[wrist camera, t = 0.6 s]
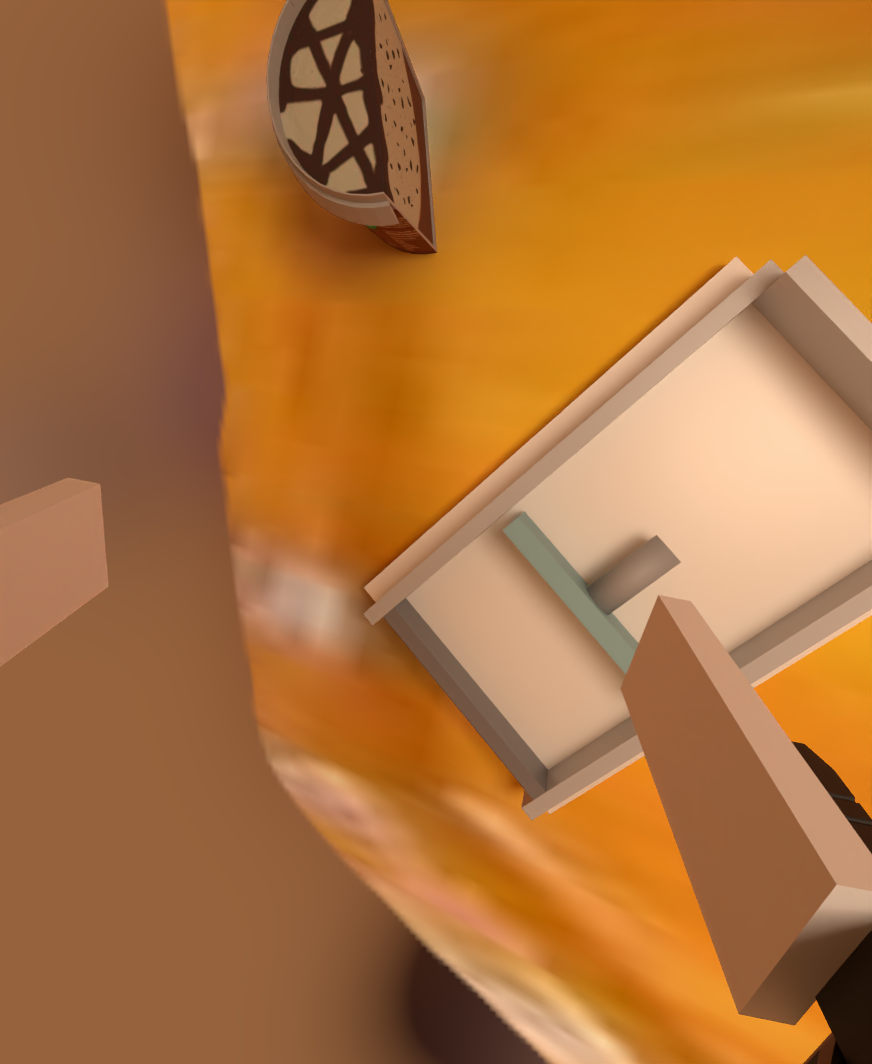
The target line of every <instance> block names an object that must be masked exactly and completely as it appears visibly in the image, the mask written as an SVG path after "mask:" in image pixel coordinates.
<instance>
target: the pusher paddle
mask: <svg viewBox="0 0 872 1064" xmlns="http://www.w3.org/2000/svg"><path fill="white" fill-rule="evenodd" d="M502 531H503V532H504V533H505V534H506V535H507V536H508V538H509V539H510V540H511V541H512V542H513V543H514V545H515V546H516V547H517V548H518V549H519V550H520V552H521V553H522V554H523V555H524V556H525V557H526V559H527V560H528V561H529V562H530V563H531V564H532V566H533V567H534V568H535V569H536V570H537V571H538V573H539V574H540V575H541V576H542V577H543V578H544V580H545V581H546V582H547V583H548V584H549V585H550V587H551V588H552V589H553V590H554V591H555V592H556V594H557V595H558V596H559V597H560V598H561V599H562V601H563V602H564V603H565V604H566V605H567V606H568V608H569V609H570V610H571V611H572V612H573V613H574V615H575V616H576V617H577V618H578V619H579V621H580V622H581V623H582V624H583V625H584V626H585V628H586V629H587V630H588V631H589V632H590V633H591V635H592V636H593V637H594V638H595V639H596V640H597V642H598V643H599V644H600V645H601V646H602V647H603V649H604V650H605V651H606V652H607V653H608V654H609V656H610V657H611V658H612V659H613V660H614V661H615V663H616V664H617V665H618V666H619V667H620V668H621V670H622V671H623V672H624V673H625V674H627V671H628V669H629V666H630V664H631V661H632V659H633V656H634V654H635V651H636V649H637V646H638V644H639V643H638V642H637V641H636V640H635V639H634V637H633V636H632V635H631V634H630V633H629V632H628V631H627V629H626V628H625V627H624V626H623V625H622V624H621V622H620V621H619V620H618V619H617V618H616V617H615V615H614V614H613V613H612V612H613V611H615V610H616V609H618V608H619V607H620V606H622V605H623V604H624V603H626V602H627V601H629V600H630V599H631V598H633V597H634V596H635V595H637V594H638V593H640V592H641V591H642V590H644V589H645V588H647V587H648V586H649V585H651V584H652V583H653V582H655V581H656V580H658V579H659V578H660V577H662V576H663V575H664V574H666V573H667V572H669V571H670V570H671V569H673V568H674V567H675V566H677V565H678V564H680V563H681V562H680V560H679V559H678V558H677V557H676V556H675V555H674V553H673V552H672V551H671V550H670V549H669V548H668V547H667V546H666V544H665V543H664V542H663V541H662V540H661V539H660V538H659V537H658V536H657V535H655V536H654V537H653V538H651V539H650V540H649V541H647V542H646V543H645V544H643V545H642V546H641V547H639V548H638V549H637V550H636V551H634V552H633V553H632V554H630V555H629V556H628V557H626V558H625V559H624V560H622V561H621V562H620V563H618V564H617V565H616V566H614V567H613V568H612V569H610V570H609V571H608V572H606V573H605V574H604V575H602V576H601V577H600V578H598V579H597V580H596V581H594V582H593V583H592V584H591V585H588V584H587V583H586V582H585V581H584V580H583V578H582V577H581V576H580V575H579V574H578V573H577V571H576V570H575V569H574V568H573V567H572V566H571V565H570V563H569V562H568V561H567V560H566V559H565V558H564V556H563V555H562V554H561V553H560V552H559V551H558V549H557V548H556V547H555V546H554V545H553V544H552V543H551V541H550V540H549V539H548V538H547V537H546V536H545V534H544V533H543V532H542V531H541V530H540V529H539V527H538V526H537V525H536V524H535V523H534V522H533V520H532V519H531V518H530V517H529V516H528V515H527V514H526V512H525V511H524V512H523V513H522V514H521V515H520V516H518V517H517V518H516V519H515V520H514V521H513V522H511V523H510V524H509V525H508V526H507V527H506V528H504V529H503V530H502Z"/></svg>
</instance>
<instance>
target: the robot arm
mask: <svg viewBox="0 0 872 1064" xmlns="http://www.w3.org/2000/svg"><path fill="white" fill-rule="evenodd" d="M107 587H108V574H107V561H106V549H105V537H104V524H103V512H102V500H101V488H100V484H98V483H93V482H88V481H83V480H78V479H73V478H65V479H63V480H60V481H58V482H55V483H53V484H50V485H48V486H46V487H43V488H40V489H38V490H36V491H33V492H31V493H28V494H26V495H23V496H21V497H18V498H16V499H13V500H11V501H8V502H6V503H3V504H1V505H0V666H2V665H3V664H4V663H6V662H7V661H9V660H10V659H11V658H13V657H14V656H15V655H17V654H18V653H19V652H21V651H22V650H23V649H25V648H26V647H28V646H29V645H30V644H32V643H33V642H34V641H36V640H37V639H38V638H40V637H41V636H42V635H43V634H45V633H46V632H48V631H49V630H50V629H52V628H53V627H54V626H56V625H57V624H58V623H60V622H61V621H63V620H64V619H65V618H67V617H68V616H69V615H71V614H72V613H73V612H75V611H76V610H77V609H79V608H80V607H81V606H83V605H84V604H86V603H87V602H88V601H89V600H91V599H92V598H94V597H95V596H96V595H98V594H99V593H100V592H102V591H103V590H104V589H106V588H107ZM620 689H621V691H622V694H623V697H624V700H625V702H626V705H627V708H628V711H629V713H630V716H631V719H632V722H633V724H634V727H635V730H636V733H637V735H638V738H639V741H640V744H641V746H642V749H643V752H644V755H645V757H646V760H647V763H648V766H649V768H650V771H651V774H652V777H653V779H654V782H655V785H656V788H657V790H658V793H659V796H660V799H661V801H662V804H663V807H664V810H665V812H666V815H667V818H668V821H669V823H670V826H671V829H672V832H673V834H674V837H675V840H676V843H677V845H678V848H679V851H680V854H681V856H682V859H683V862H684V865H685V867H686V870H687V873H688V876H689V878H690V881H691V884H692V887H693V889H694V892H695V895H696V898H697V900H698V903H699V906H700V909H701V911H702V914H703V917H704V920H705V922H706V925H707V928H708V931H709V933H710V936H711V939H712V942H713V944H714V947H715V950H716V953H717V955H718V958H719V961H720V964H721V966H722V969H723V972H724V975H725V977H726V980H727V983H728V986H729V988H730V991H731V994H732V997H733V999H734V1002H735V1005H736V1008H737V1010H738V1013H739V1014H741V1015H746V1016H751V1017H756V1018H761V1019H766V1020H771V1021H776V1022H781V1023H786V1024H791V1025H795V1024H796V1023H797V1022H798V1021H799V1020H800V1018H801V1017H802V1016H803V1015H804V1014H805V1013H806V1011H807V1010H808V1009H809V1008H810V1007H811V1005H812V1004H813V1003H814V1002H815V1001H816V1000H817V1002H818V1004H819V1006H820V1008H821V1010H822V1012H823V1015H824V1017H825V1019H826V1021H827V1023H828V1025H829V1027H830V1029H831V1031H832V1033H831V1034H830V1035H829V1036H828V1037H827V1038H826V1039H825V1040H824V1042H823V1043H822V1044H821V1045H820V1046H819V1047H818V1048H817V1049H816V1050H815V1051H814V1052H813V1054H812V1055H811V1056H810V1057H809V1058H808V1059H807V1060H806V1061H805V1062H804V1063H803V1064H872V819H871V818H870V817H869V815H868V814H867V813H866V811H865V810H864V809H863V807H862V806H861V805H860V804H859V803H855V797H854V796H853V794H852V793H851V792H850V790H849V789H848V788H847V787H846V785H845V784H844V783H843V781H842V780H841V779H840V777H839V776H838V775H837V773H836V772H835V771H834V770H833V769H832V768H831V767H830V766H829V765H828V764H827V763H825V762H824V761H823V760H822V759H821V758H820V757H819V756H817V755H816V754H815V753H814V752H813V751H812V750H811V749H809V748H808V747H807V746H806V745H805V744H802V743H797V742H792V741H791V740H790V739H789V738H788V736H787V735H786V733H785V732H784V731H783V729H782V728H781V726H780V725H779V724H778V722H777V721H776V719H775V718H774V717H773V715H772V714H771V712H770V711H769V710H768V708H767V707H766V705H765V704H764V703H763V701H762V700H761V698H760V697H759V696H758V694H757V693H756V691H755V690H754V689H753V687H752V686H751V684H750V683H749V682H748V680H747V679H746V677H745V676H744V675H743V673H742V672H741V670H740V669H739V668H738V666H737V665H736V663H735V662H734V661H733V659H732V658H731V656H730V655H729V654H728V652H727V651H726V649H725V648H724V647H723V645H722V644H721V642H720V641H719V640H718V638H717V637H716V635H715V634H714V633H713V631H712V630H711V628H710V627H709V626H708V624H707V623H706V621H705V620H704V619H703V617H702V616H701V614H700V613H699V612H698V610H697V609H696V607H695V606H694V605H693V603H692V602H691V601H687V600H682V599H677V598H672V597H667V596H662V595H658V597H657V599H656V602H655V604H654V607H653V609H652V612H651V614H650V617H649V619H648V622H647V624H646V627H645V629H644V632H643V634H642V636H641V639H640V641H639V644H638V646H637V649H636V651H635V654H634V656H633V659H632V661H631V664H630V666H629V669H628V671H627V674H626V676H625V678H624V681H623V683H622V686H621V688H620Z"/></svg>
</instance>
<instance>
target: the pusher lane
mask: <svg viewBox="0 0 872 1064" xmlns="http://www.w3.org/2000/svg"><path fill="white" fill-rule="evenodd" d="M524 511H525V512H526V514H527V515H528V516H529V517H530V518H531V519H532V520H533V522H534V523H535V524H536V525H537V526H538V527H539V529H540V530H541V531H542V532H543V533H544V534H545V536H546V537H547V538H548V539H549V540H550V541H551V543H552V544H553V545H554V546H555V547H556V548H557V549H558V551H559V552H560V553H561V554H562V555H563V556H564V558H565V559H566V560H567V561H568V562H569V563H570V565H571V566H572V567H573V568H574V569H575V570H576V571H577V573H578V574H579V575H580V576H581V577H582V578H583V580H584V581H585V582H586V583H587V584H588V585H591V584H592V583H593V582H594V581H596V580H597V579H598V578H600V577H601V576H602V575H604V574H605V573H606V572H608V571H609V570H610V569H612V568H613V567H614V566H616V565H617V564H618V563H620V562H621V561H622V560H624V559H625V558H626V557H628V556H629V555H630V554H632V553H633V552H634V551H636V550H637V549H638V548H639V547H641V546H642V545H643V544H645V543H646V542H647V541H649V540H650V539H651V538H653V537H654V536H655V535H657V536H658V537H659V538H660V539H661V540H662V541H663V542H664V543H665V544H666V546H667V547H668V548H669V549H670V550H671V551H672V552H673V553H674V555H675V556H676V557H677V558H678V559H679V560H680V562H681V563H680V564H678V565H677V566H675V567H674V568H673V569H671V570H670V571H669V572H667V573H666V574H664V575H663V576H662V577H660V578H659V579H658V580H656V581H655V582H653V583H652V584H651V585H649V586H648V587H647V588H645V589H644V590H642V591H641V592H640V593H638V594H637V595H635V596H634V597H633V598H631V599H630V600H629V601H627V602H626V603H624V604H623V605H622V606H620V607H619V608H618V609H616V610H615V611H613V612H612V613H613V614H614V615H615V617H616V618H617V619H618V620H619V621H620V622H621V624H622V625H623V626H624V627H625V628H626V629H627V631H628V632H629V633H630V634H631V635H632V636H633V637H634V639H635V640H636V641H637V642H638V643H639V641H640V639H641V636H642V634H643V632H644V629H645V627H646V624H647V622H648V619H649V617H650V614H651V612H652V609H653V607H654V604H655V602H656V599H657V597H658V595H662V596H667V597H672V598H677V599H682V600H687V601H691V602H692V603H693V605H694V606H695V607H696V609H697V610H698V612H699V613H700V614H701V616H702V617H703V619H704V620H705V621H706V623H707V624H708V626H709V627H710V628H711V630H712V631H713V633H714V634H715V635H716V637H717V638H718V640H719V641H720V642H721V644H722V645H723V647H724V648H725V649H726V651H727V652H728V654H729V655H730V656H731V658H732V659H733V661H734V662H735V663H736V665H737V666H738V668H739V669H740V670H741V672H742V673H743V675H744V676H745V677H746V679H747V680H748V682H749V683H750V684H751V686H752V687H753V688H754V687H756V686H758V685H759V684H761V683H763V682H764V681H766V680H767V679H769V678H771V677H772V676H774V675H775V674H777V673H779V672H780V671H782V670H784V669H785V668H787V667H788V666H790V665H792V664H793V663H795V662H796V661H798V660H800V659H801V658H803V657H805V656H806V655H808V654H809V653H811V652H813V651H814V650H816V649H817V648H819V647H821V646H822V645H824V644H826V643H827V642H829V641H830V640H832V639H834V638H835V637H837V636H839V635H840V634H842V633H843V632H845V631H847V630H848V629H850V628H851V627H853V626H855V625H856V624H858V623H860V622H861V621H863V620H864V619H866V618H868V617H869V616H871V615H872V323H871V322H870V321H869V320H868V319H867V318H866V317H865V316H864V315H863V314H862V313H861V312H860V311H859V310H858V309H857V308H856V307H855V306H854V305H853V304H852V303H851V302H850V300H849V299H848V298H847V297H846V296H845V295H844V294H843V293H842V292H841V291H840V290H839V289H838V288H837V287H836V286H835V285H834V284H833V283H832V282H831V281H830V280H829V279H828V278H827V277H826V276H825V274H824V273H823V272H822V271H821V270H820V269H819V268H818V267H817V266H816V265H815V264H814V263H813V262H812V261H811V260H810V259H809V258H808V257H807V256H806V255H805V256H804V257H803V258H801V259H800V260H799V261H798V262H797V263H796V264H794V265H793V266H792V267H791V268H790V269H789V270H787V271H786V272H785V273H784V272H783V271H782V270H781V269H780V268H779V267H778V266H777V265H776V264H775V263H774V262H773V261H772V260H770V261H769V262H768V263H766V264H765V265H764V266H763V267H762V268H761V269H759V270H758V271H757V272H756V273H755V274H753V273H752V272H751V271H750V270H749V269H748V268H747V267H746V266H745V265H744V264H743V263H742V262H741V260H740V259H739V258H738V257H737V256H736V257H735V258H734V259H733V260H732V261H731V262H729V263H728V264H727V265H726V266H725V267H724V268H723V269H722V270H720V271H719V272H718V273H717V274H716V275H715V276H714V277H713V278H711V279H710V280H709V281H708V282H707V283H706V284H705V285H704V286H702V287H701V288H700V289H699V290H698V291H697V292H696V293H695V294H693V295H692V296H691V297H690V298H689V299H688V300H687V301H686V302H684V303H683V304H682V305H681V306H680V307H679V308H678V309H677V310H675V311H674V312H673V313H672V314H671V315H670V316H669V317H668V318H666V319H665V320H664V321H663V322H662V323H661V324H660V325H659V326H657V327H656V328H655V329H654V330H653V331H652V332H651V333H650V334H648V335H647V336H646V337H645V338H644V339H643V340H642V341H641V342H639V343H638V344H637V345H636V346H635V347H634V348H633V349H632V350H630V351H629V352H628V353H627V354H626V355H625V356H624V357H623V358H621V359H620V360H619V361H618V362H617V363H616V364H615V365H614V366H612V367H611V368H610V369H609V370H608V371H607V372H606V373H605V374H603V375H602V376H601V377H600V378H599V379H598V380H597V381H596V382H594V383H593V384H592V385H591V386H590V387H589V388H588V389H587V390H585V391H584V392H583V393H582V394H581V395H580V396H579V397H578V398H576V399H575V400H574V401H573V402H572V403H571V404H570V405H569V406H567V407H566V408H565V409H564V410H563V411H562V412H561V413H560V414H558V415H557V416H556V417H555V418H554V419H553V420H552V421H551V422H549V423H548V424H547V425H546V426H545V427H544V428H543V429H542V430H540V431H539V432H538V433H537V434H536V435H535V436H534V437H533V438H531V439H530V440H529V441H528V442H527V443H526V444H525V445H524V446H522V447H521V448H520V449H519V450H518V451H517V452H516V453H515V454H513V455H512V456H511V457H510V458H509V459H508V460H507V461H506V462H504V463H503V464H502V465H501V466H500V467H499V468H498V469H497V470H495V471H494V472H493V473H492V474H491V475H490V476H489V477H488V478H486V479H485V480H484V481H483V482H482V483H481V484H480V485H479V486H477V487H476V488H475V489H474V490H473V491H472V492H471V493H470V494H468V495H467V496H466V497H465V498H464V499H463V500H462V501H461V502H459V503H458V504H457V505H456V506H455V507H454V508H453V509H452V510H450V511H449V512H448V513H447V514H446V515H445V516H444V517H443V518H441V519H440V520H439V521H438V522H437V523H436V524H435V525H434V526H432V527H431V528H430V529H429V530H428V531H427V532H426V533H425V534H423V535H422V536H421V537H420V538H419V539H418V540H417V541H416V542H414V543H413V544H412V545H411V546H410V547H409V548H408V549H407V550H405V551H404V552H403V553H402V554H401V555H400V556H399V557H398V558H396V559H395V560H394V561H393V562H392V563H391V564H390V565H389V566H387V567H386V568H385V569H384V570H383V571H382V572H381V573H380V574H378V575H377V576H376V577H375V578H374V579H373V580H372V581H371V582H369V583H368V584H367V585H366V586H365V587H364V589H365V590H366V591H367V593H368V594H369V595H370V596H371V597H372V599H373V600H374V601H375V602H376V603H375V604H374V605H373V606H371V607H370V608H369V609H368V610H367V611H366V612H364V613H363V615H364V616H365V617H366V618H367V619H368V621H369V622H370V623H371V624H372V626H373V625H374V624H375V623H376V622H378V621H379V620H380V619H382V618H383V617H384V618H385V620H386V621H387V622H388V623H389V625H390V626H391V627H392V628H393V629H394V631H395V632H396V633H397V634H398V636H399V637H400V638H401V639H402V640H403V642H404V643H405V644H406V645H407V646H408V648H409V649H410V650H411V651H412V653H413V654H414V655H415V656H416V657H417V659H418V660H419V661H420V662H421V664H422V665H423V666H424V667H425V668H426V670H427V671H428V672H429V673H430V675H431V676H432V677H433V678H434V679H435V681H436V682H437V683H438V684H439V685H440V687H441V688H442V689H443V690H444V692H445V693H446V694H447V695H448V696H449V698H450V699H451V700H452V701H453V703H454V704H455V705H456V706H457V707H458V709H459V710H460V711H461V712H462V714H463V715H464V716H465V717H466V718H467V720H468V721H469V722H470V723H471V724H472V726H473V727H474V728H475V729H476V731H477V732H478V733H479V734H480V735H481V737H482V738H483V739H484V740H485V742H486V743H487V744H488V745H489V746H490V748H491V749H492V750H493V751H494V753H495V754H496V755H497V756H498V757H499V759H500V760H501V761H502V762H503V763H504V765H505V766H506V767H507V768H508V770H509V771H510V772H511V773H512V774H513V776H514V777H515V778H516V779H517V781H518V782H519V783H520V784H521V785H522V787H523V788H524V789H525V790H524V796H523V802H522V809H523V810H524V812H525V813H526V814H527V815H528V816H529V818H530V819H531V820H533V819H535V818H537V817H538V816H540V815H541V814H543V813H545V812H546V811H547V812H548V813H549V814H551V813H552V812H554V811H556V810H557V809H559V808H560V807H562V806H564V805H565V804H567V803H568V802H570V801H572V800H573V799H575V798H577V797H578V796H580V795H581V794H583V793H585V792H586V791H588V790H589V789H591V788H593V787H594V786H596V785H598V784H599V783H601V782H602V781H604V780H606V779H607V778H609V777H610V776H612V775H614V774H615V773H617V772H619V771H620V770H622V769H623V768H625V767H627V766H628V765H630V764H632V763H633V762H635V761H636V760H638V759H640V758H641V757H643V756H644V752H643V749H642V746H641V744H640V741H639V738H638V735H637V733H636V730H635V727H634V724H633V722H632V719H631V716H630V713H629V711H628V708H627V705H626V702H625V700H624V697H623V694H622V691H621V689H620V688H621V686H622V683H623V681H624V678H625V676H626V674H625V673H624V672H623V671H622V670H621V668H620V667H619V666H618V665H617V664H616V663H615V661H614V660H613V659H612V658H611V657H610V656H609V654H608V653H607V652H606V651H605V650H604V649H603V647H602V646H601V645H600V644H599V643H598V642H597V640H596V639H595V638H594V637H593V636H592V635H591V633H590V632H589V631H588V630H587V629H586V628H585V626H584V625H583V624H582V623H581V622H580V621H579V619H578V618H577V617H576V616H575V615H574V613H573V612H572V611H571V610H570V609H569V608H568V606H567V605H566V604H565V603H564V602H563V601H562V599H561V598H560V597H559V596H558V595H557V594H556V592H555V591H554V590H553V589H552V588H551V587H550V585H549V584H548V583H547V582H546V581H545V580H544V578H543V577H542V576H541V575H540V574H539V573H538V571H537V570H536V569H535V568H534V567H533V566H532V564H531V563H530V562H529V561H528V560H527V559H526V557H525V556H524V555H523V554H522V553H521V552H520V550H519V549H518V548H517V547H516V546H515V545H514V543H513V542H512V541H511V540H510V539H509V538H508V536H507V535H506V534H505V533H504V532H503V531H502V530H503V529H504V528H506V527H507V526H508V525H509V524H510V523H511V522H513V521H514V520H515V519H516V518H517V517H518V516H520V515H521V514H522V513H523V512H524Z"/></svg>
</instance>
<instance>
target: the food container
mask: <svg viewBox="0 0 872 1064" xmlns="http://www.w3.org/2000/svg"><path fill="white" fill-rule="evenodd" d="M267 98H268V104H269V110H270V115H271V119H272V124H273V128H274V131H275V135H276V138H277V141H278V144H279V146H280V148H281V150H282V152H283V154H284V156H285V158H286V160H287V162H288V164H289V166H290V168H291V170H292V171H293V173H294V175H295V177H296V179H297V180H298V182H299V183H300V184H301V186H302V187H303V188H304V190H305V191H306V193H307V194H308V195H309V196H310V197H311V198H312V199H313V200H314V201H315V202H316V203H317V204H318V205H319V206H321V207H322V208H324V209H325V210H327V211H328V212H330V213H331V214H333V215H335V216H337V217H339V218H342V219H344V220H346V221H348V222H353V223H357V224H361V225H365V226H366V227H367V228H369V229H370V230H371V231H372V232H374V233H375V234H376V235H377V236H378V237H380V238H381V239H382V240H383V241H385V242H386V243H388V244H389V245H391V246H392V247H394V248H397V249H399V250H401V251H404V252H409V253H413V254H429V253H437V248H436V235H435V222H434V210H433V197H432V184H431V171H430V159H429V146H428V133H427V121H426V108H425V98H424V95H423V93H422V90H421V87H420V85H419V82H418V79H417V77H416V74H415V71H414V69H413V66H412V63H411V61H410V58H409V56H408V53H407V50H406V48H405V45H404V42H403V40H402V37H401V34H400V32H399V29H398V26H397V24H396V21H395V19H394V16H393V13H392V11H391V8H390V5H389V3H388V0H287V1H286V3H285V5H284V7H283V9H282V11H281V14H280V16H279V18H278V21H277V24H276V27H275V30H274V33H273V36H272V41H271V46H270V51H269V56H268V65H267Z"/></svg>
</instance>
